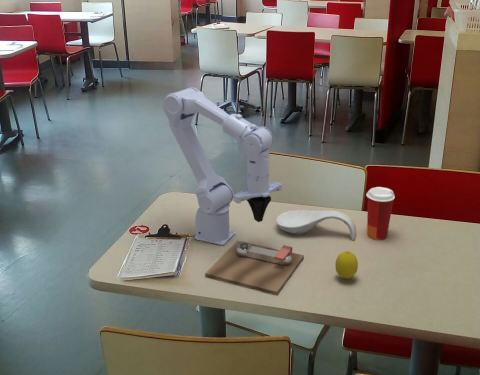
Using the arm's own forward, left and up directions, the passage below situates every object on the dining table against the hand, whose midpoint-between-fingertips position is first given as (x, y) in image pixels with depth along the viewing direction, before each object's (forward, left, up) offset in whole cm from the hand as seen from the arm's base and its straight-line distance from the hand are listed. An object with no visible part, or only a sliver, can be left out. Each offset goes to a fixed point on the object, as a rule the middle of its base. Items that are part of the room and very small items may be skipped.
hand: (258, 220), depth 149 cm
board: (+3, -9, -9) cm, 13 cm away
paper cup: (+28, +22, -10) cm, 37 cm away
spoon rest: (+11, +17, -10) cm, 23 cm away
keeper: (+9, -5, -8) cm, 13 cm away
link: (+4, -5, -8) cm, 10 cm away
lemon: (+26, -4, -10) cm, 28 cm away
